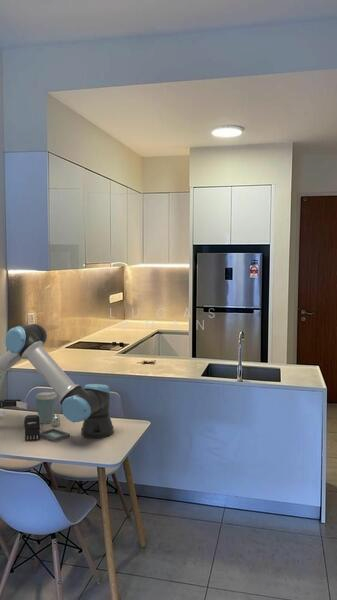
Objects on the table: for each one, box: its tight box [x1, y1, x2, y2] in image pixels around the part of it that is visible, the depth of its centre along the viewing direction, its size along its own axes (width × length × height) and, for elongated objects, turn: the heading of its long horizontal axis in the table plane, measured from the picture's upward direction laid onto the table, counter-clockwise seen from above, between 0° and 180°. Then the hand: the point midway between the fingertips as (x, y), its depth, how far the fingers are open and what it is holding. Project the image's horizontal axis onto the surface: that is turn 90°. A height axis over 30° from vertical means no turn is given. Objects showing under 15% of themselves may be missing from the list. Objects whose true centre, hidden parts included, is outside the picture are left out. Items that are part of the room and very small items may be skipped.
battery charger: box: [23, 413, 41, 442], centre depth 218 cm, size 7×4×11 cm, turn 100°
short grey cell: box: [51, 413, 61, 428], centre depth 238 cm, size 4×4×6 cm
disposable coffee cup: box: [35, 391, 58, 424], centre depth 245 cm, size 11×11×15 cm
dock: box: [40, 427, 71, 443], centre depth 223 cm, size 12×9×2 cm
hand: (15, 409), depth 223 cm, fingers open, 13 cm apart
